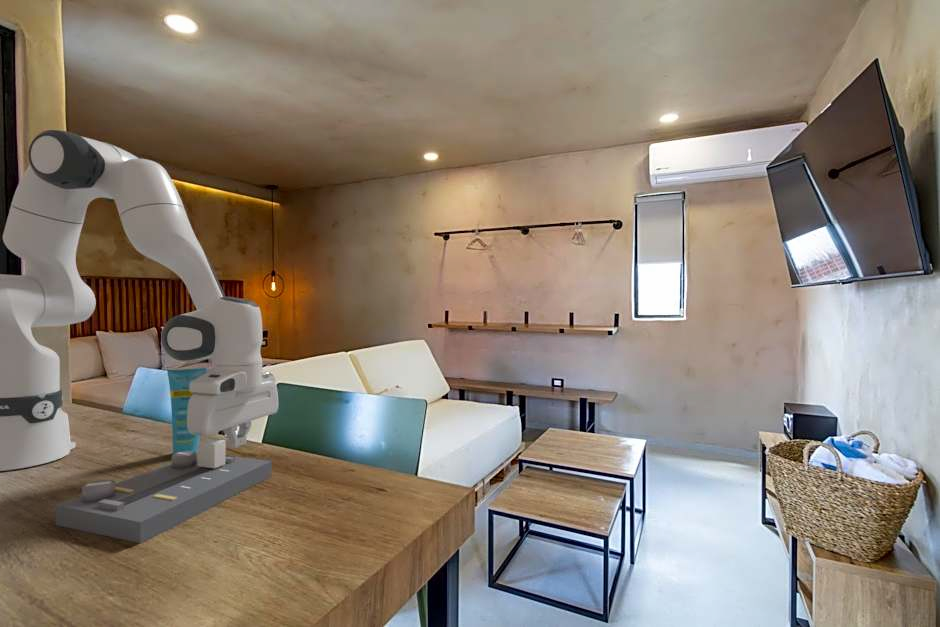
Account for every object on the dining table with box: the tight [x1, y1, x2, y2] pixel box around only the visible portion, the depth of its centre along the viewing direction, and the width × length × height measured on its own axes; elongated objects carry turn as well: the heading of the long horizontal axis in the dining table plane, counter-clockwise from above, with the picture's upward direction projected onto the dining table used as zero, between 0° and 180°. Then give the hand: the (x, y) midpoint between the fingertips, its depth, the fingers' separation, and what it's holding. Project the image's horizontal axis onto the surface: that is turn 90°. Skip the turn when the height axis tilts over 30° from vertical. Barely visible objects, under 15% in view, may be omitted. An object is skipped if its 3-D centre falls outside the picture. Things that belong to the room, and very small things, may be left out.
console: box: [55, 451, 273, 544], centre depth 77 cm, size 17×26×5 cm, turn 164°
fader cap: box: [197, 438, 227, 469], centre depth 84 cm, size 4×2×5 cm, turn 74°
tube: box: [166, 367, 208, 455], centre depth 99 cm, size 7×5×19 cm, turn 123°
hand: (237, 445), depth 90 cm, fingers closed
